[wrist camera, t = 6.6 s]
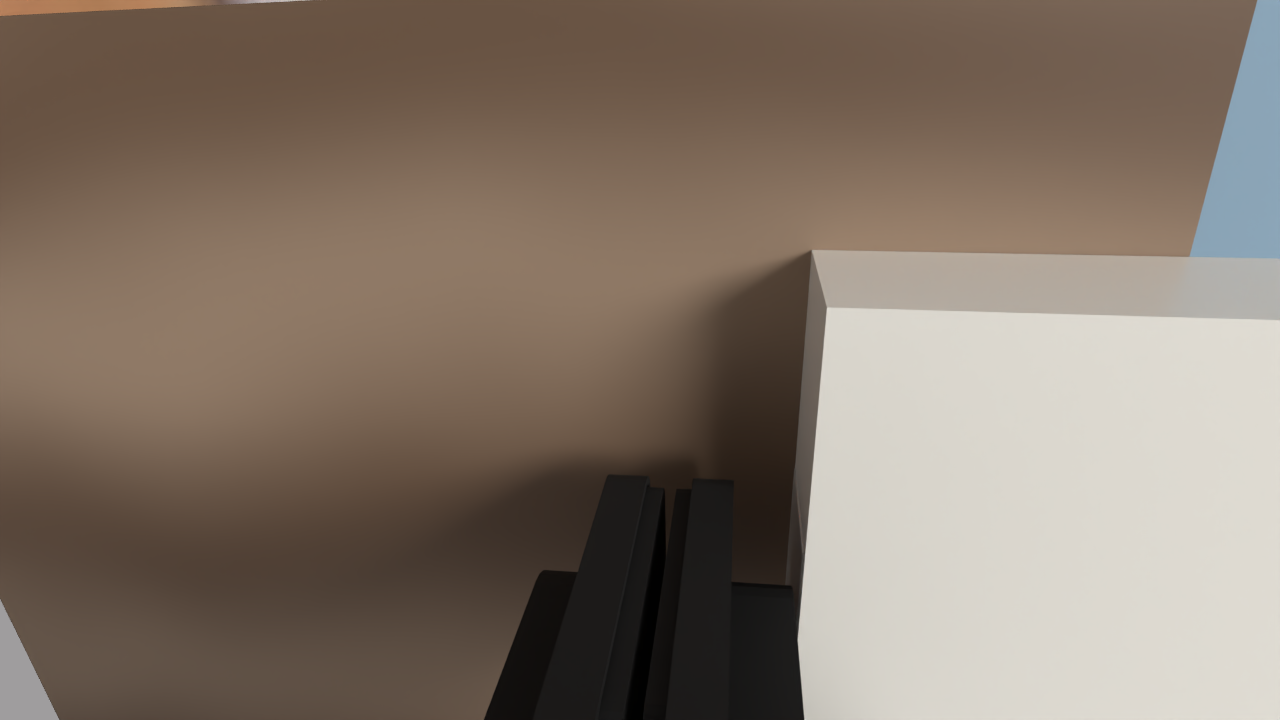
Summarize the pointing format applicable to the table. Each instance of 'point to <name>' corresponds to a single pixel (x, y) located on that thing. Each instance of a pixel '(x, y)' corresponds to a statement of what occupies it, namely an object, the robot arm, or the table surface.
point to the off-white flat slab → (1038, 488)
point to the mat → (1248, 154)
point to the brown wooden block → (486, 295)
